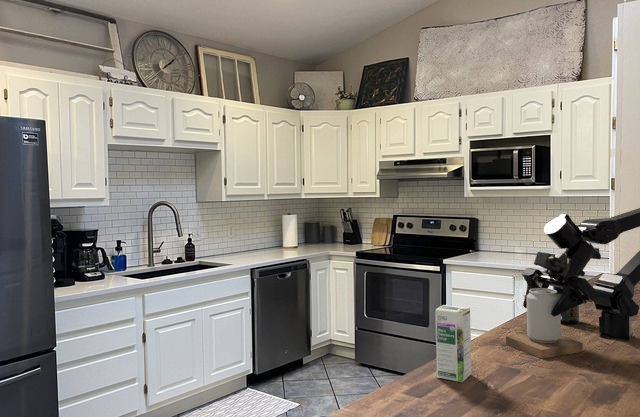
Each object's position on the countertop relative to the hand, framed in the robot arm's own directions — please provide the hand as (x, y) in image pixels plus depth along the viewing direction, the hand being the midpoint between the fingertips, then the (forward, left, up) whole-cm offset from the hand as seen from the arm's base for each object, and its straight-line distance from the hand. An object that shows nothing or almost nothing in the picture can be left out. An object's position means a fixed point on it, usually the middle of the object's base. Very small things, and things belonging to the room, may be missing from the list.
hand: (537, 311), depth 126 cm
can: (-1, -1, -7) cm, 7 cm away
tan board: (-1, -1, -9) cm, 9 cm away
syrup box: (+8, +28, -9) cm, 30 cm away
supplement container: (+1, -28, -9) cm, 30 cm away
